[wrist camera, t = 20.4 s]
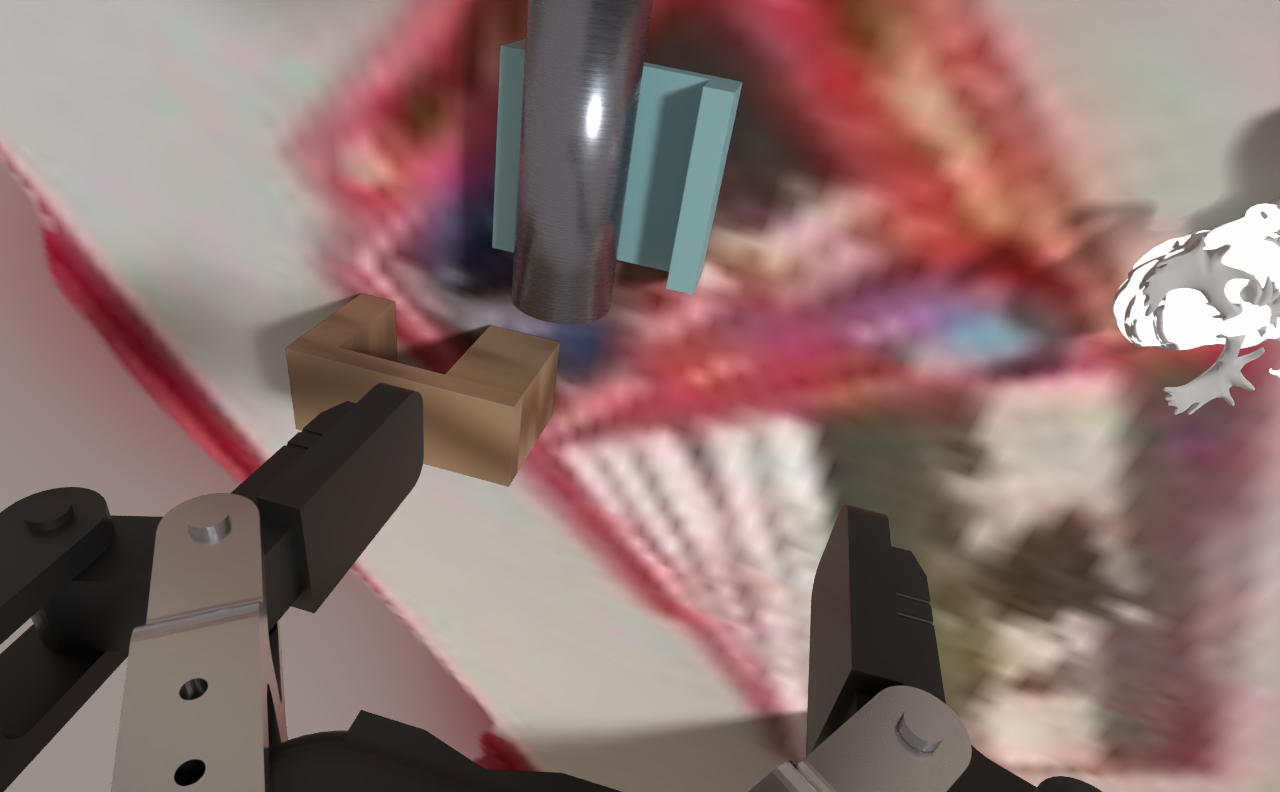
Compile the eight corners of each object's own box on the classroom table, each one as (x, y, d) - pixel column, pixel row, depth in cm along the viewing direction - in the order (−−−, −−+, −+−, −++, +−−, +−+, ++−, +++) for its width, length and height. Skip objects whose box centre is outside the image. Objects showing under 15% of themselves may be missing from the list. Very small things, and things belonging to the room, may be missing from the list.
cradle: (702, 271, 37) (693, 294, 34) (514, 228, 38) (492, 247, 35) (742, 81, 32) (734, 92, 29) (525, 38, 33) (500, 45, 30)
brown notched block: (552, 415, 43) (508, 486, 38) (366, 367, 45) (296, 429, 39) (559, 342, 41) (513, 407, 35) (361, 293, 42) (285, 348, 36)
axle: (630, 307, 36) (558, 333, 33) (563, 271, 38) (490, 292, 35) (680, -14, 28) (593, -22, 25) (593, -35, 31) (503, -44, 28)
